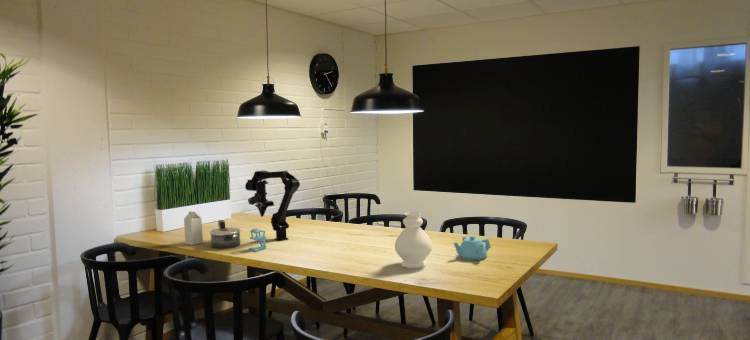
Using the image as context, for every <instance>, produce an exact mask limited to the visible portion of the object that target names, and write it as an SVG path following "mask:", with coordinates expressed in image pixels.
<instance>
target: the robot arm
mask: <svg viewBox="0 0 750 340" xmlns="http://www.w3.org/2000/svg"><path fill="white" fill-rule="evenodd" d="M278 178H280V180H281V183H282V184H283V185H284V194H283V197H282V199H281V202H280V205H279V208H278V211H277V212H275V213H272V216H271V218H270V224H271V227H272V230H273V231H275V238H274V240H275V241H279V242H281V241H286V240H289V239H290V238H289V237H287V229H289V228H290V224H289V223H288V222H287V216H286V214H287V211H288V208H289V206H290V204H291V200H292V198H293V196H294V194H295V193H296V192H298V189H299V187H300V185H301V183H300V181H299V180H298V178H296V177H295V176H294V175H293V174H291V173H289V172H288V170H281V171H280V170H279V171H268V170H263V169H262V170H256V171H254V173H253V176H252V177H251V179H247V180H246V181H247V182H246V183H245V186H244V188H245V190H246V191H248V192H249V191H250V192H255V193H254V195H253V196H252V197H249V198H248V199H247V201H248V205H251V206H253V205H254V207H256V208H257V210H258V212H259V214H260V217H264V215H265V214H266V211H267V208H268V207H273V206H274V205H275V204H274V201H273V200H268V199H267V195H268V192H267V187H266V185H268V184H269V182H268V181H267V180H268V179H278Z"/></svg>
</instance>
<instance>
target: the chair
mask: <svg viewBox="0 0 750 340" xmlns="http://www.w3.org/2000/svg"><path fill="white" fill-rule="evenodd" d="M253 233H254V234H255V236H254V235H253ZM261 233H263V234H262V235H261ZM250 234H251V236H250V237H249V239H250V240H254V241H257V242H258V244H259V245H260V246H254V247H248V250H249V251H251V252H254V253H257V252H260V251H265V250H267V245H266V239H267V236H265V234H266V230H262V229H258V228H252V229H251V230H250Z"/></svg>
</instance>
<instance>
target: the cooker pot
mask: <svg viewBox="0 0 750 340" xmlns="http://www.w3.org/2000/svg"><path fill="white" fill-rule="evenodd" d="M240 233H241V232H240ZM240 233H238V234H235V235H229V236H212V235H210V239H211V240H210V241H211V243H210V244H211V248H212V249H217V250H219V249H220V250H222V249H223V250H224V249H232V248H237V247H240V246H241V234H240Z"/></svg>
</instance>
